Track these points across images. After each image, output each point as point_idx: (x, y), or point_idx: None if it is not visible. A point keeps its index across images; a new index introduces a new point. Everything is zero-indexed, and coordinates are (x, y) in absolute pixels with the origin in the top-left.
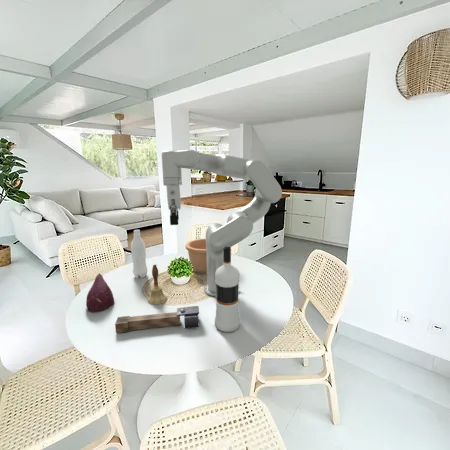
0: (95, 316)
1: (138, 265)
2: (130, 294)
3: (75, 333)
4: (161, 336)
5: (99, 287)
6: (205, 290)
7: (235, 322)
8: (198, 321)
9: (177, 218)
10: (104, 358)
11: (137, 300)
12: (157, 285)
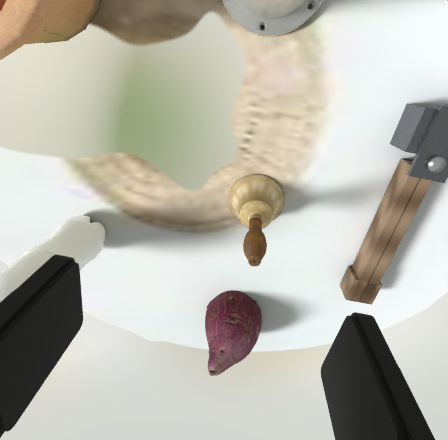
0: (276, 319)
1: (85, 258)
2: (201, 259)
3: (321, 342)
4: (433, 210)
5: (244, 352)
6: (278, 32)
7: None
8: None
9: (405, 394)
10: (428, 304)
11: (240, 246)
12: (261, 218)
